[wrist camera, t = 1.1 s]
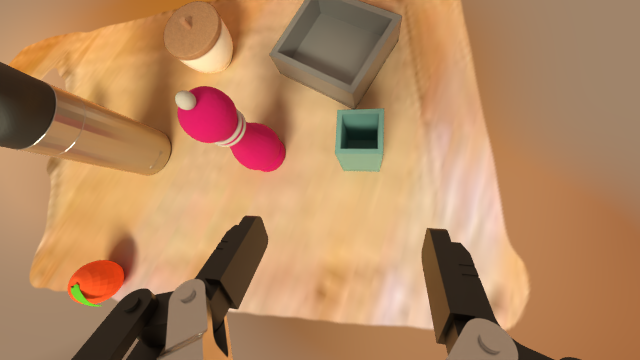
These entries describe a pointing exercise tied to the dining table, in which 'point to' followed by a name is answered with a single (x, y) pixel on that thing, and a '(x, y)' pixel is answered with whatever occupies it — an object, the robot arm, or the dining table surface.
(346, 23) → the tray
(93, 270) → the clementine
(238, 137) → the pepper mill
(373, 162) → the teal crate
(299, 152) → the dining table surface
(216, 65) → the lidded jar
